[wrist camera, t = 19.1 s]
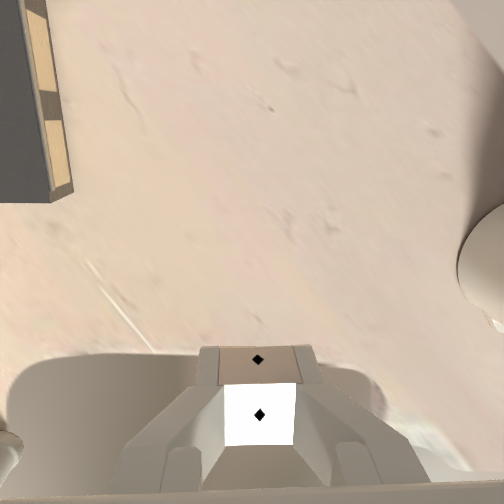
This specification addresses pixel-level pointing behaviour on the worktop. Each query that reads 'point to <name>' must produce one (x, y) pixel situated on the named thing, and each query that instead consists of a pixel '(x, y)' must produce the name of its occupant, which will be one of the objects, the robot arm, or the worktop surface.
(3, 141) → the long dark grey beam
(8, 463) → the bottle
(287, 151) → the worktop surface
